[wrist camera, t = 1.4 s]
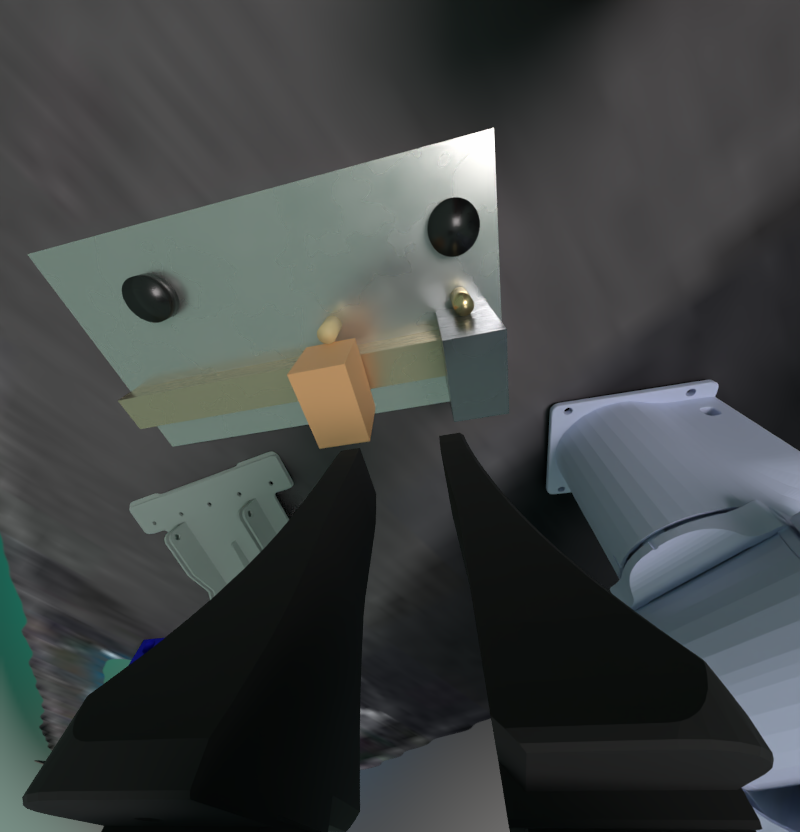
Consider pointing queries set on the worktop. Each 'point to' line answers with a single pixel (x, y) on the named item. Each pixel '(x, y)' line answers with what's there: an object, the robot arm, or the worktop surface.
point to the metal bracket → (219, 519)
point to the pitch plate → (302, 294)
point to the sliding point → (334, 389)
